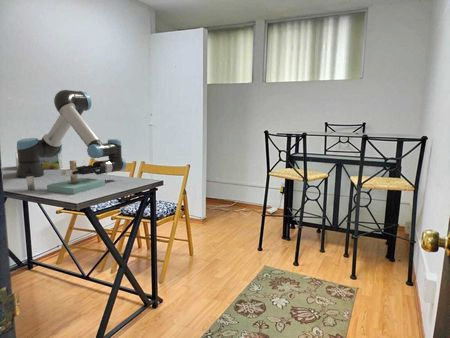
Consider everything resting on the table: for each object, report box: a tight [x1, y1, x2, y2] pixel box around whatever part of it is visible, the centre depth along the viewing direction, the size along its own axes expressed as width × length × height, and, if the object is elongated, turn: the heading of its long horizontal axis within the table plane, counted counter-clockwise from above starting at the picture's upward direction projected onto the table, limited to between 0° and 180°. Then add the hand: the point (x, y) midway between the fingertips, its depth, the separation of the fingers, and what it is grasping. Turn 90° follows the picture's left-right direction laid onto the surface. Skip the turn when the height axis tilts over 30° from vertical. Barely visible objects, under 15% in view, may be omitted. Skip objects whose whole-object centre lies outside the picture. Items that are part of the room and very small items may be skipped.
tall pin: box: [69, 160, 78, 185], centre depth 168 cm, size 3×3×14 cm
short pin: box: [26, 176, 36, 191], centre depth 165 cm, size 3×3×7 cm
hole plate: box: [46, 177, 106, 195], centre depth 171 cm, size 18×22×3 cm
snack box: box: [40, 152, 63, 170], centre depth 227 cm, size 21×6×15 cm, turn 90°
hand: (63, 173), depth 163 cm, fingers closed on tall pin, 3 cm apart
